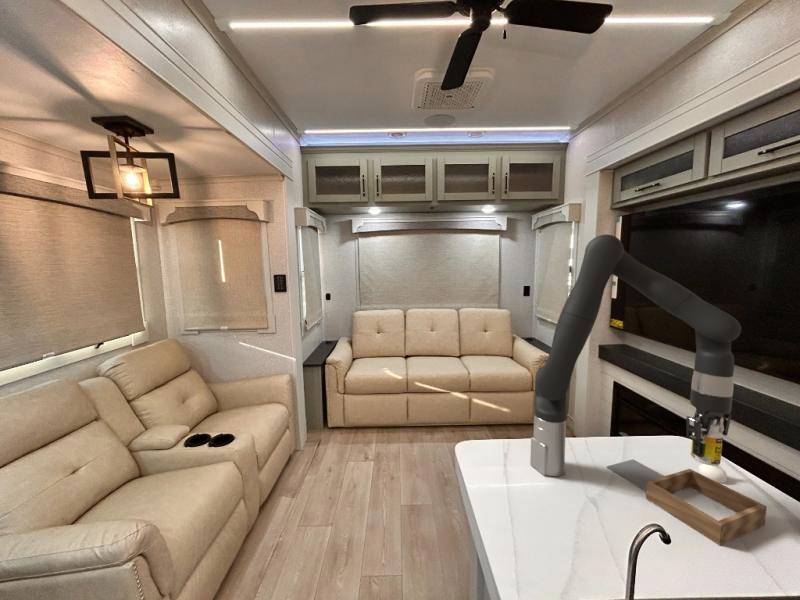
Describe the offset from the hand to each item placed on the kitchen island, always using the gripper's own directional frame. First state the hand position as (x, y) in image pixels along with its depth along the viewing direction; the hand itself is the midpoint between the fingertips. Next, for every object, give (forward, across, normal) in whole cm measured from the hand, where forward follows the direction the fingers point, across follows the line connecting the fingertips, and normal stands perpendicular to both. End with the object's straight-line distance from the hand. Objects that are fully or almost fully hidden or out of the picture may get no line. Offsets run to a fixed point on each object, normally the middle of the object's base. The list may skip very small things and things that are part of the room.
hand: (705, 452), depth 81 cm
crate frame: (+16, 0, 0) cm, 16 cm away
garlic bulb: (+16, -20, -8) cm, 27 cm away
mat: (+16, 0, -16) cm, 23 cm away
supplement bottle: (+2, 0, 0) cm, 2 cm away
